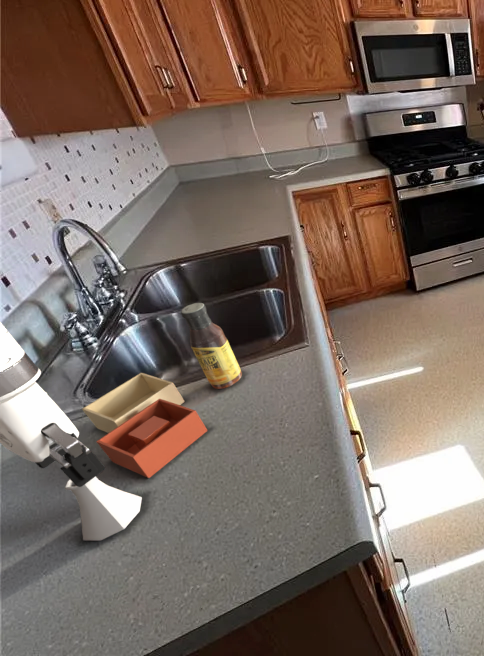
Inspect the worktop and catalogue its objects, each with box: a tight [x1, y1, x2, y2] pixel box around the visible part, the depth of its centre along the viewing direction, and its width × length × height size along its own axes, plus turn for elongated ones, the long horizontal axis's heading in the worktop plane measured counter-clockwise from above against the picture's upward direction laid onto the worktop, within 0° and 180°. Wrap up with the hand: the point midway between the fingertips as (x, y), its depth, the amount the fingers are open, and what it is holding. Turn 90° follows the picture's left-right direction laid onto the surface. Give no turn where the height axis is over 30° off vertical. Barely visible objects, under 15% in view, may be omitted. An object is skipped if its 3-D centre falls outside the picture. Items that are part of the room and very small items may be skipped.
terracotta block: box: [128, 416, 172, 450], centre depth 77 cm, size 4×4×4 cm
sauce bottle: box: [180, 302, 243, 390], centre depth 89 cm, size 7×6×20 cm
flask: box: [64, 476, 143, 541], centre depth 64 cm, size 7×7×10 cm
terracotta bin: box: [95, 399, 208, 479], centre depth 77 cm, size 11×11×6 cm
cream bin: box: [81, 372, 185, 434], centre depth 85 cm, size 11×11×6 cm
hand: (73, 468), depth 60 cm, fingers open, 9 cm apart
